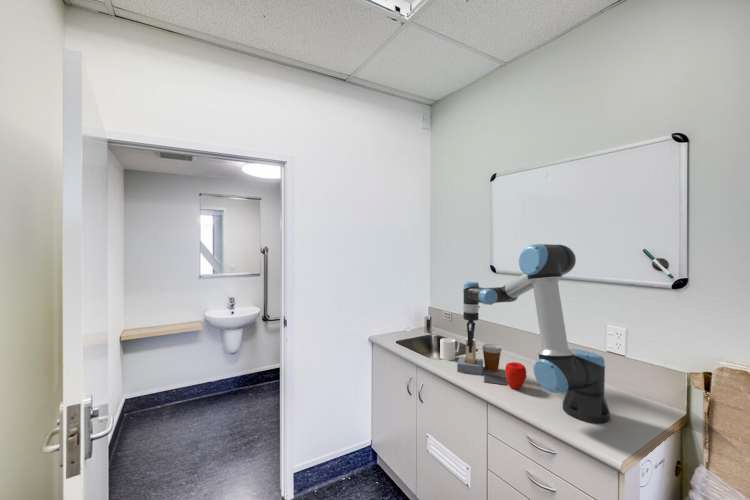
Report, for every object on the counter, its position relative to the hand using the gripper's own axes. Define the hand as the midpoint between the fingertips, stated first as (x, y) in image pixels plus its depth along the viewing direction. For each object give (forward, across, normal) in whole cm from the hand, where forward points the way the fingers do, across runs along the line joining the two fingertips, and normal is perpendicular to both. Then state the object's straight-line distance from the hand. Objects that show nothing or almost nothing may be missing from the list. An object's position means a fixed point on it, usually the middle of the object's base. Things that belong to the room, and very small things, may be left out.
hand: (470, 356), depth 168 cm
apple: (+7, -16, -20) cm, 27 cm away
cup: (+7, +15, +12) cm, 20 cm away
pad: (+6, -10, -12) cm, 17 cm away
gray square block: (+6, 0, 0) cm, 6 cm away
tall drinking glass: (+5, 0, 0) cm, 5 cm away
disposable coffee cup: (+7, +3, -10) cm, 12 cm away
